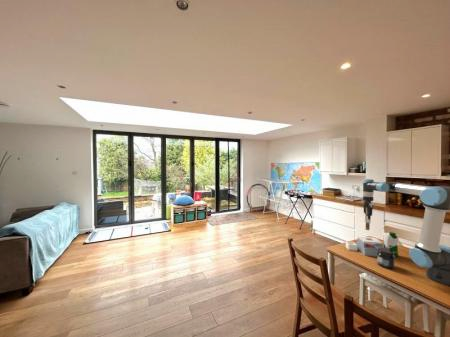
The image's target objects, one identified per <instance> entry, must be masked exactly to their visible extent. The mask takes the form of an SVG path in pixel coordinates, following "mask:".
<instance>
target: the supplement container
mask: <svg viewBox="0 0 450 337" xmlns="http://www.w3.org/2000/svg"><path fill="white" fill-rule="evenodd" d="M376 263H377V264H378V265H379V266H380V267H381V268H384V269H388V270H389V269H390V270H394V269H395V268H396V266H395V265H396V257H395V256H394V252H393V251H392V250H389V249H386V248H384V247H383V248H378V252H377V258H376Z"/></svg>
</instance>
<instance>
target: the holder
mask: <svg viewBox="0 0 450 337" xmlns="http://www.w3.org/2000/svg"><path fill="white" fill-rule="evenodd" d="M345 248H346V249H347V250H349V251H358V248H357V243H355V241H345Z"/></svg>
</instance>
